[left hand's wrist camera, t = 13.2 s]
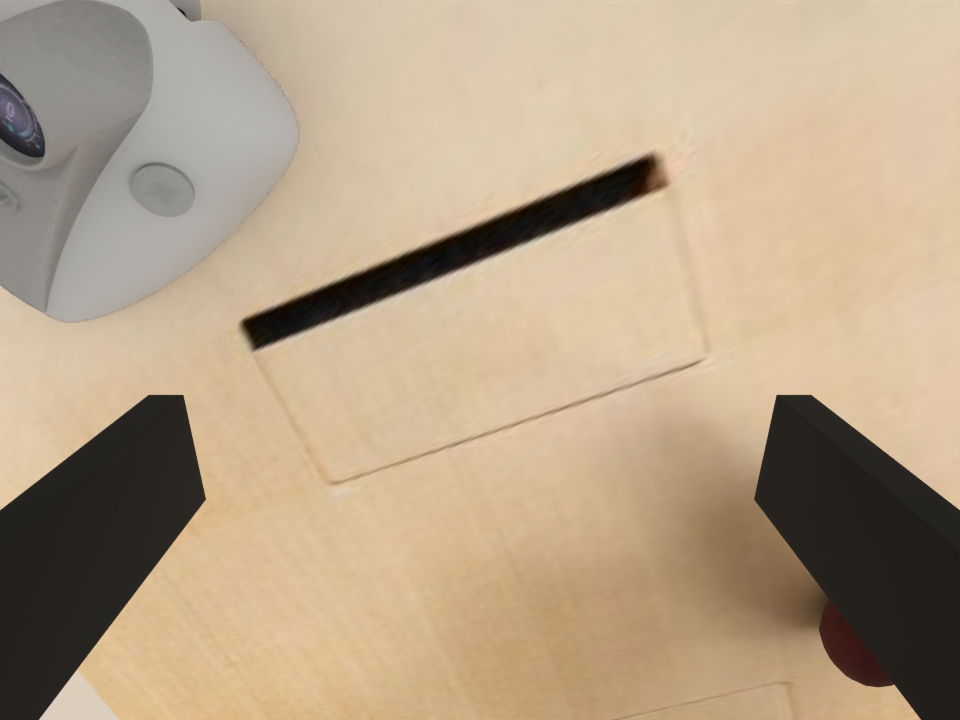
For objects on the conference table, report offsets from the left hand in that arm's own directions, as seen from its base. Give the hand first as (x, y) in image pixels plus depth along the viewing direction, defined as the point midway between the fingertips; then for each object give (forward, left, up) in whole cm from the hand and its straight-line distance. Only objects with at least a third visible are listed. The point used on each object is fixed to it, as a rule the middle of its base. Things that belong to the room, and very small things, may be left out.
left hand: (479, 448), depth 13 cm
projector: (+1, -23, -29) cm, 37 cm away
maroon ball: (+23, +41, -29) cm, 55 cm away
